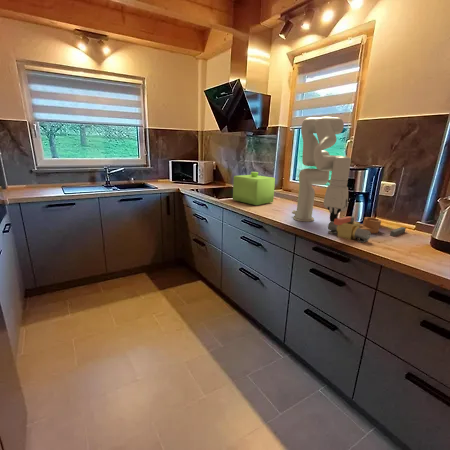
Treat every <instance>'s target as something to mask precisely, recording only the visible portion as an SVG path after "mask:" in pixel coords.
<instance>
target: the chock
mask: <svg viewBox="0 0 450 450" xmlns="http://www.w3.org/2000/svg"><path fill="white" fill-rule="evenodd" d="M406 229H407V228H406V227H404V226H401V227H397V228H395V229H392V230H390V233H389V234H390V235H389V236H391V237H396V236H399V235H402V234H404V233H405V232H406Z"/></svg>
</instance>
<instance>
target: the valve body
mask: <svg viewBox="0 0 450 450" xmlns="http://www.w3.org/2000/svg"><path fill="white" fill-rule="evenodd" d="M360 224H361V222H359V221H355V220H354V222H347V223H343V224H342V225H335V224H334V222H332V221H329V223H328V225H327V227H328V234H330V235H334V234H337V237H339V238H342V239H346V240H349V241H351V240H357V242H358V243H360V244H364V243H366V242H368V241H369V240H370V238H371V236H372V233H371V232H370V231H368V230H364V229H361V228H360V227H359V226H360Z"/></svg>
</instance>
